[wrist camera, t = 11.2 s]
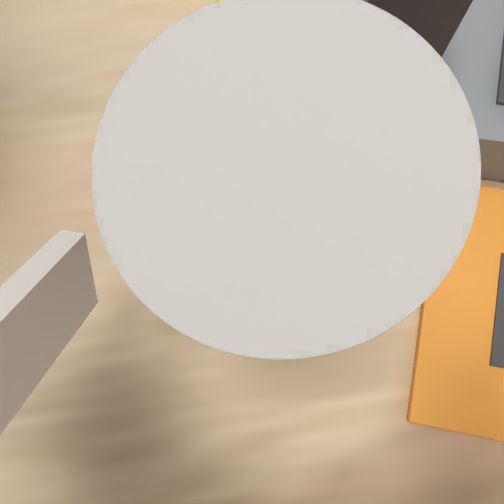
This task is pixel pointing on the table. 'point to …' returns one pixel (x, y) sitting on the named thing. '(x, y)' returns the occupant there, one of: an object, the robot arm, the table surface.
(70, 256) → the robot arm
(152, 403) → the table surface
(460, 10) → the grey switch box
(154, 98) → the white closed cylinder
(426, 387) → the pad
